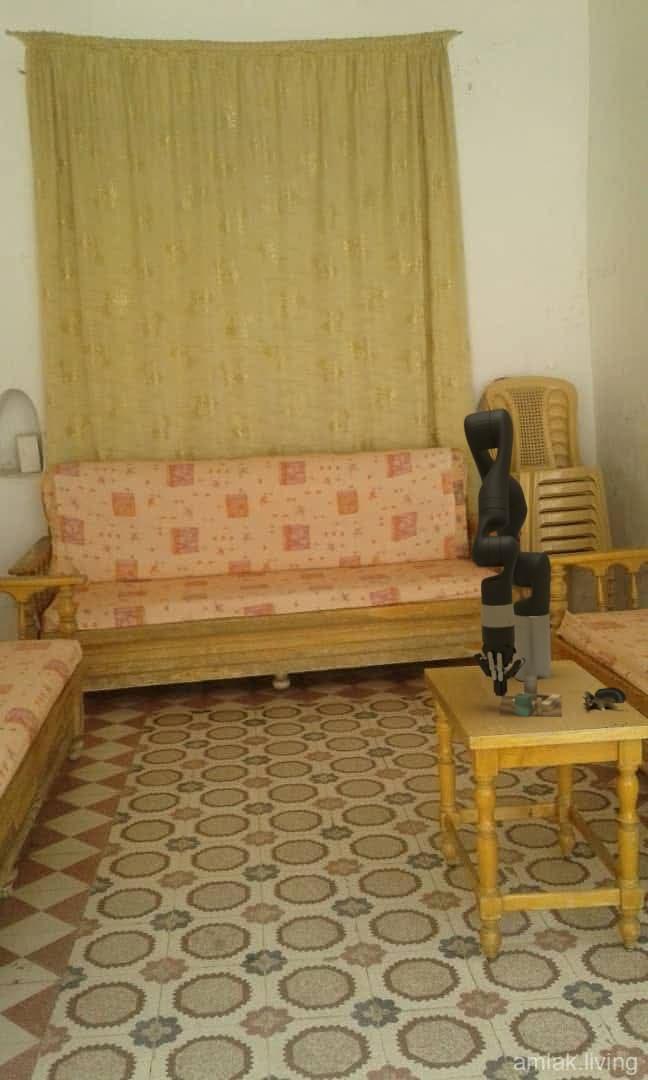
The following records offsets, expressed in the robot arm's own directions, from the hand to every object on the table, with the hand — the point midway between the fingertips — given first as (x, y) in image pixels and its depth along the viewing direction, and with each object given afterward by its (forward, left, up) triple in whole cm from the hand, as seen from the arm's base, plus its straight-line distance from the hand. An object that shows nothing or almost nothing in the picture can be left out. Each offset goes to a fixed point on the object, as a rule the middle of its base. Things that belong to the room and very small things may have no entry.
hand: (500, 695), depth 244 cm
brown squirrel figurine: (-2, +23, -5) cm, 24 cm away
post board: (-4, +7, -5) cm, 9 cm away
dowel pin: (+4, +9, -3) cm, 10 cm away
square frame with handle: (-2, +7, -4) cm, 8 cm away
